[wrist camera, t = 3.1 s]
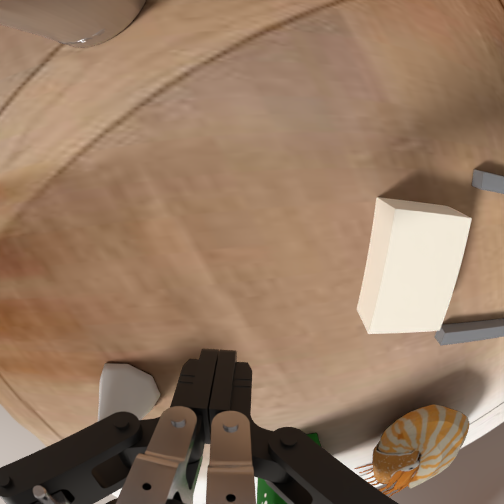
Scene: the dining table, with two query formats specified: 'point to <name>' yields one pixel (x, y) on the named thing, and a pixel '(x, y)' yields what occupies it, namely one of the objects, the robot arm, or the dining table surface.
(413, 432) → the nautilus
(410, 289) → the carton
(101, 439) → the robot arm
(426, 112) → the dining table surface
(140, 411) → the flask
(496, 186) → the u-shaped bracket
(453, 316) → the dining table surface
